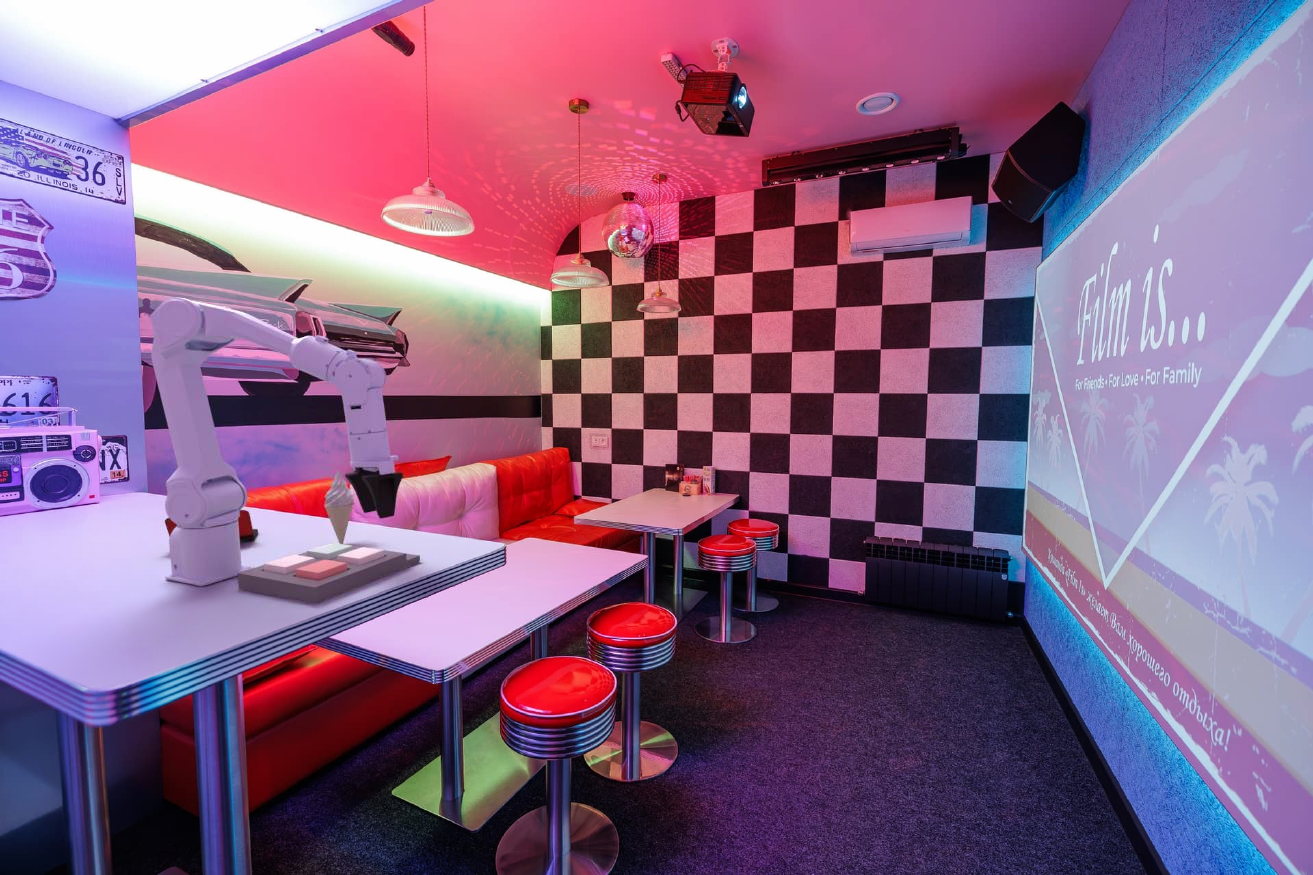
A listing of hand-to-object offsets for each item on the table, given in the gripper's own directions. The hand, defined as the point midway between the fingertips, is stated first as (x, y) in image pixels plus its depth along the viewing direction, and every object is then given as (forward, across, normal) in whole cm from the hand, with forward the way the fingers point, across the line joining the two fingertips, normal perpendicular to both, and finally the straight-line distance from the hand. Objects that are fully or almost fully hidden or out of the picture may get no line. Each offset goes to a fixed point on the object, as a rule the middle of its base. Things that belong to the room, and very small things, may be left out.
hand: (378, 514), depth 88 cm
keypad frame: (+9, +5, +6) cm, 12 cm away
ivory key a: (+7, +6, +12) cm, 15 cm away
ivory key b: (+7, +3, +3) cm, 8 cm away
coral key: (+7, 0, +9) cm, 12 cm away
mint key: (+7, +9, +6) cm, 13 cm away
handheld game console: (+7, +41, +18) cm, 46 cm away
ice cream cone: (+9, +23, +1) cm, 25 cm away
